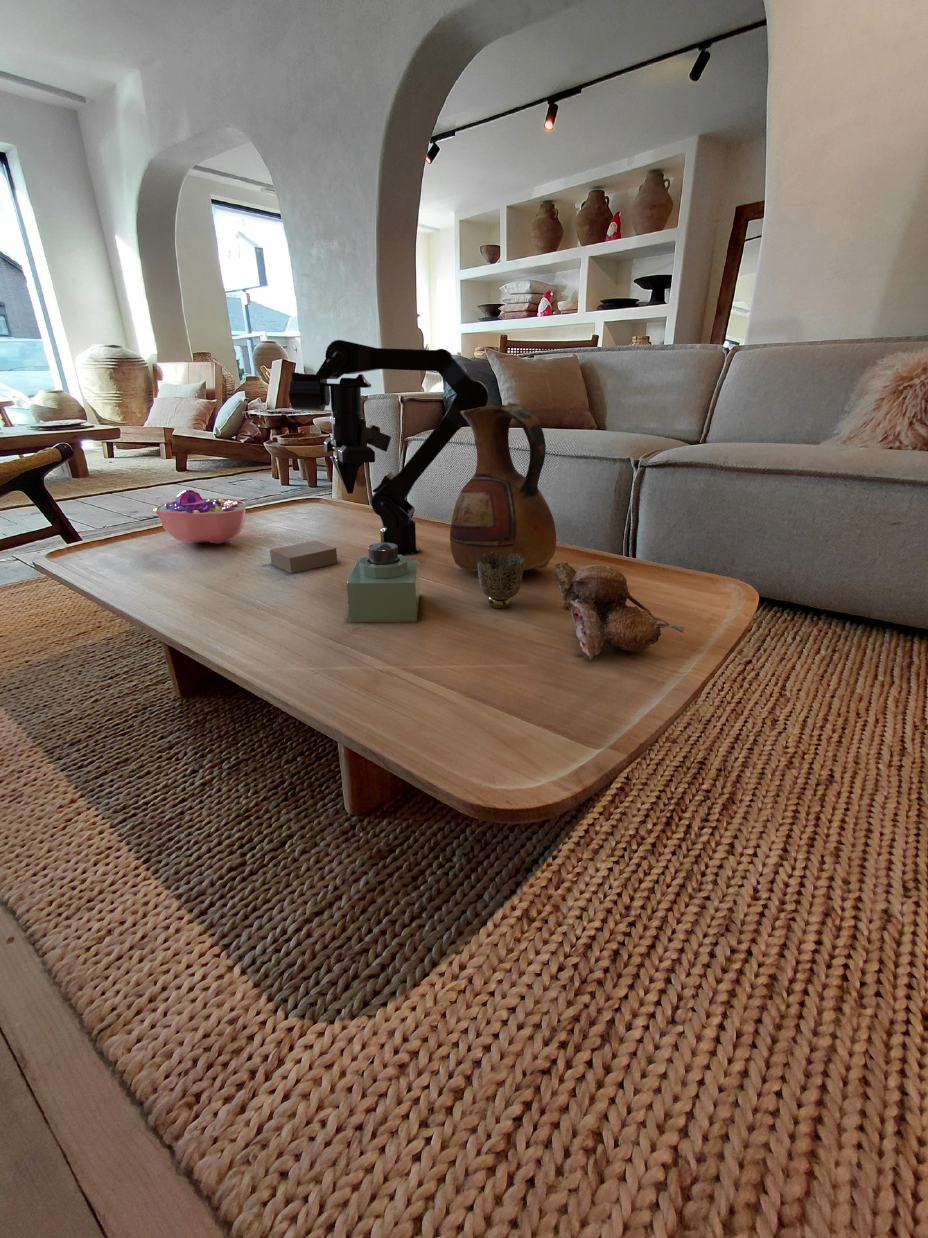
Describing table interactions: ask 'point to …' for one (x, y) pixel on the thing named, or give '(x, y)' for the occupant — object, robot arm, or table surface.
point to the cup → (500, 577)
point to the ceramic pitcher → (503, 494)
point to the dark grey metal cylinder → (383, 553)
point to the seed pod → (606, 609)
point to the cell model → (202, 518)
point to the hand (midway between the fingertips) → (349, 493)
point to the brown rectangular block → (303, 556)
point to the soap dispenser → (383, 591)
